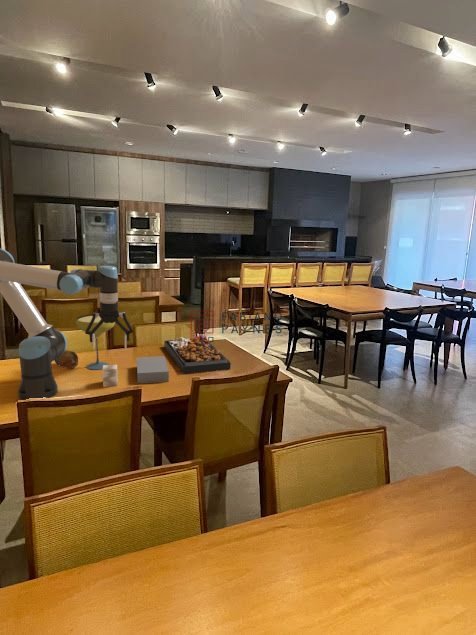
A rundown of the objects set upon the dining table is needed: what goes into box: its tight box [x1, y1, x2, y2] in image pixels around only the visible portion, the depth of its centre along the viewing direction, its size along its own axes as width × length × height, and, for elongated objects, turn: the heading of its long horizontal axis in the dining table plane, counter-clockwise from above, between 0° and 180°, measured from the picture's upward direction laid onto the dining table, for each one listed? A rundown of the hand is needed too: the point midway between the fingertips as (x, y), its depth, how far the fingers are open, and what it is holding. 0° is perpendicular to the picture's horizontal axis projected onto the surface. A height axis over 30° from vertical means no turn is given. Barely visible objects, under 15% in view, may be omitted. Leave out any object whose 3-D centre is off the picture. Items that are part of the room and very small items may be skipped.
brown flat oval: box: [53, 349, 79, 370], centre depth 208 cm, size 15×3×8 cm, turn 62°
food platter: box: [163, 333, 231, 375], centre depth 228 cm, size 45×25×10 cm, turn 22°
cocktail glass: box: [75, 313, 116, 371], centre depth 207 cm, size 18×18×25 cm
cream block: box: [102, 364, 118, 388], centre depth 189 cm, size 6×6×8 cm
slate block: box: [136, 355, 170, 384], centre depth 202 cm, size 14×22×5 cm, turn 14°
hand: (109, 348), depth 186 cm, fingers open, 13 cm apart
